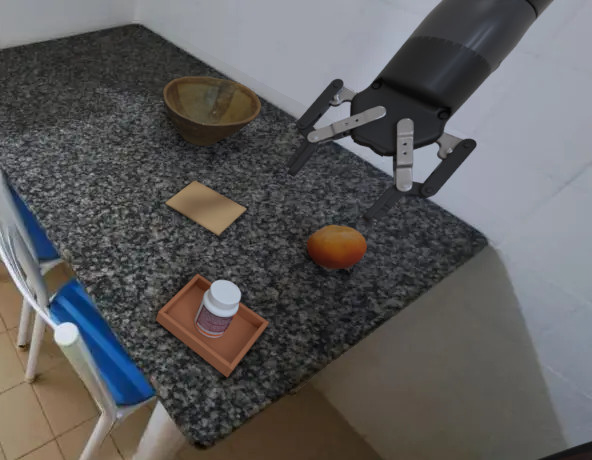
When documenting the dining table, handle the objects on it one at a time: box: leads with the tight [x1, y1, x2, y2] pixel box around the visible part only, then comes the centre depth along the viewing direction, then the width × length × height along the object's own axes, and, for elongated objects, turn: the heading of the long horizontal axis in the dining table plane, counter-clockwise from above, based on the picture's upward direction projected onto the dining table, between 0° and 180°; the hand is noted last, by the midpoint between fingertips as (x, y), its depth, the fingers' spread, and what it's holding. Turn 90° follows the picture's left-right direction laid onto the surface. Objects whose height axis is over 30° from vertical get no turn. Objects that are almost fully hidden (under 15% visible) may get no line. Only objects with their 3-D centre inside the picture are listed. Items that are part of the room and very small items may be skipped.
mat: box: [165, 180, 247, 237], centre depth 76 cm, size 12×10×1 cm
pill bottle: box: [194, 279, 242, 338], centre depth 55 cm, size 5×5×8 cm
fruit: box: [306, 224, 368, 274], centre depth 65 cm, size 8×8×8 cm
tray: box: [155, 273, 270, 378], centre depth 57 cm, size 12×10×2 cm
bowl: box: [162, 75, 262, 147], centre depth 90 cm, size 22×23×10 cm
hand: (326, 196), depth 42 cm, fingers open, 8 cm apart
